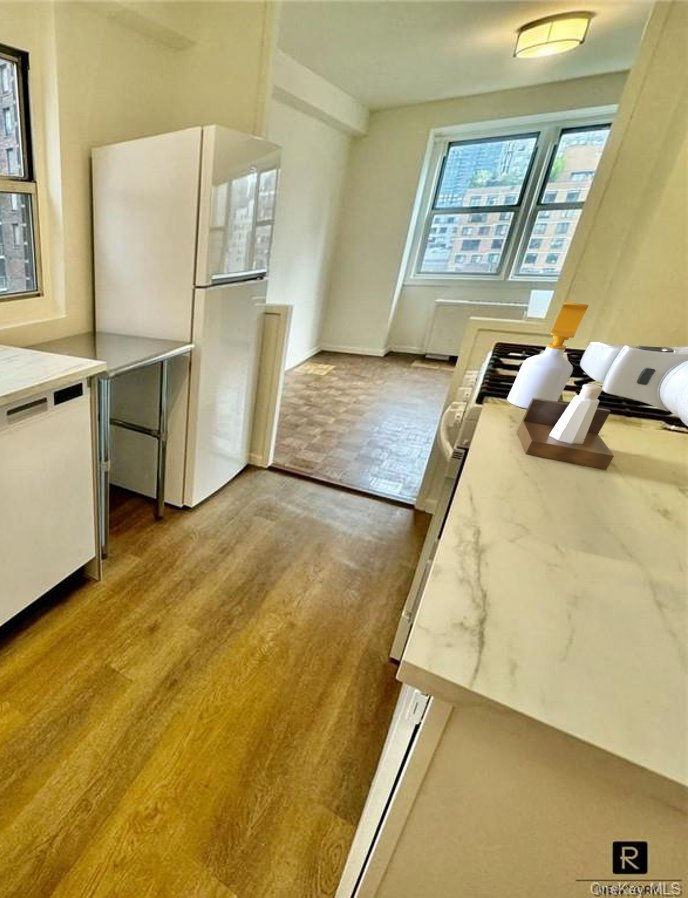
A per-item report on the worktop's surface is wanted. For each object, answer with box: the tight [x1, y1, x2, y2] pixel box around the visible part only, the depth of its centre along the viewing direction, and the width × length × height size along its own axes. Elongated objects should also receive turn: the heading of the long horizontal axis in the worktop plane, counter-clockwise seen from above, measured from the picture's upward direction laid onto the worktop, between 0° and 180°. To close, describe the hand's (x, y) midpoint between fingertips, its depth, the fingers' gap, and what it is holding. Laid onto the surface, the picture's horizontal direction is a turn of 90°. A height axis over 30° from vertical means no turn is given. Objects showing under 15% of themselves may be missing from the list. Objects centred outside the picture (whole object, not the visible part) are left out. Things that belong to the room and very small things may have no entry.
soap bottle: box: [506, 302, 589, 410], centre depth 113 cm, size 9×9×25 cm
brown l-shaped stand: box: [516, 398, 615, 471], centre depth 96 cm, size 12×12×8 cm
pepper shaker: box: [550, 383, 604, 444], centre depth 93 cm, size 5×5×11 cm
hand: (664, 354), depth 71 cm, fingers open, 8 cm apart
